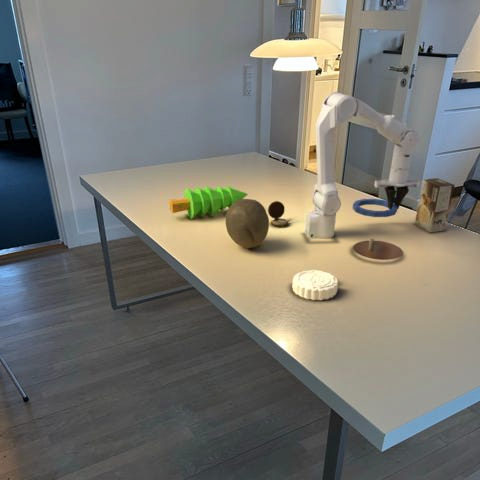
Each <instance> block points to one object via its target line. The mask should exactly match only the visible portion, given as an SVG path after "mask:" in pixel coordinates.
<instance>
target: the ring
mask: <svg viewBox="0 0 480 480" xmlns="http://www.w3.org/2000/svg"><path fill="white" fill-rule="evenodd" d="M368 205H370V206H371V205H373V206H374V205H375V206H382V207H384V208H387V209H385V210H374V209H372V210H371V209H366V208H364V207H362V206H368ZM352 210H353V211H354V213H357V214H360V215H361V216H366V217H371V218H388V217H393V216H395V215H396V214H397V213H398V210H399V208H398V207H397V206H396V205H395V202H393V207H392V208H391V209H389V208H388V200H386V199H378V198H361V199H357V200H355V201H354V202H353V203H352Z"/></svg>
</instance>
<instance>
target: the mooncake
mask: <svg viewBox="0 0 480 480" xmlns="http://www.w3.org/2000/svg"><path fill="white" fill-rule="evenodd" d="M291 285H292V291H293V292H294V294H295V295H297V296H299V297H300V298H304V299H306V300H311V301H323V300H329V299H331V298H334V296H336V295H337V292H338V287H339V281H338V278H337V277H336V276H335V275H334V274H331V273H329V272H325V271H323V270H320V269H310V270H303V271H300V272H297V274H295V275H294V276H293V278H292V284H291Z"/></svg>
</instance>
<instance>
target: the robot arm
mask: <svg viewBox="0 0 480 480" xmlns="http://www.w3.org/2000/svg"><path fill="white" fill-rule="evenodd" d="M321 105H322V107H321V109H320V112H319V114H318V116H317V119H316V122H315V125H314V127H315V150H316V151H315V152H316V175H317V182H316V184H315V185H314V191H313V194H312V195H311V196H312V198H311V200H312V203H313V205H314V207H313V208H314V209H313V211H307V212H306V216H305V227H304V233H305V235H306V237H307V239H326V240H327V239H331V238H333V237H334V236H335V227H336V219H337V213H338V212H339V211H340V209H341V206H342V202H341V199H340V197H339V191H338V188H337V185H336V183H335V180H336V179H335V134H334V133H335V130H336V129H337V128H338V127H339V126H340V125H341V124H344V123H345V122H346V121H349V120H350V119H351V118H352V117H355V118H357V117H361V118H362V119H364V120H365V121H367V122H369V123H370V124H373V125H374V126H376V131H377V133H378V134H380V135H381V136H382V137H384V138H386V139H388V140H389V141H391V142H392V144H393V145H394V148H393V151H392V152H393V153H392V159H391V165H390V170H389V176H388V179H381V180H374V188H376V189H380V188H384V190H385V193H386V199H387V201H388V208H387V209H388V210H390V209H391V208H392V207H393V203H394V204H395V205H396V206H397V207H398V209H400V206H401V204H402V202H403V201H404V198H405V197H406V196H407V195H408V193H409V192H410V189H409V188H416V189H417V188H420V186H421V181H420V180H419V179H408V178H409V173H410V167H411V161H412V156H413V153H414V149H415V148H416V146H417V145H418V144H419V141H420V139H419V137H418V133H417V131H416V130H415V129H411V128H408V124H407V123H405V122H404V123H402V122H401V121H399V120H397V119H398V116H396V115H394V114H391V115H390V114H387V115H382V114H381V113H379V112H378V111H376V110H375V109H374V108H372V107H371V105H370V106H369V105H368V104H367V103H365V102H364V101H362V100H360V99H358V98H356V97H354V96H353V95H347V94H344V93H342V92H339V91H333V92H331V93H330V94H329V95H328V96H327V97H326V98H325V99H324V100H323V101H322V104H321ZM395 188H396V189H395Z"/></svg>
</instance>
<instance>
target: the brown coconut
mask: <svg viewBox="0 0 480 480" xmlns="http://www.w3.org/2000/svg"><path fill="white" fill-rule="evenodd" d="M225 228H226V231H227V232H226V233H227V234H228V235H229V237H230V238H231V240H232V241H233V242H234V243H235V244H237V245H238V246H240V247H242V248H244V249H253V248H256V247H259V246H260V245H262V244H263V242H264V241H265V240H266V238H267V235H268V233H269V229H270V219H269V214H268V212H267V211H266V209H265V206H264V205H263V204H262V203H261V202H259V201H258V200H257V199H250V198H243V199H241V200H238V201H236V202H235V203H233V204H232V205H231V207H230V208H229V207H228V210H227V212H226V213H225Z"/></svg>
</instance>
